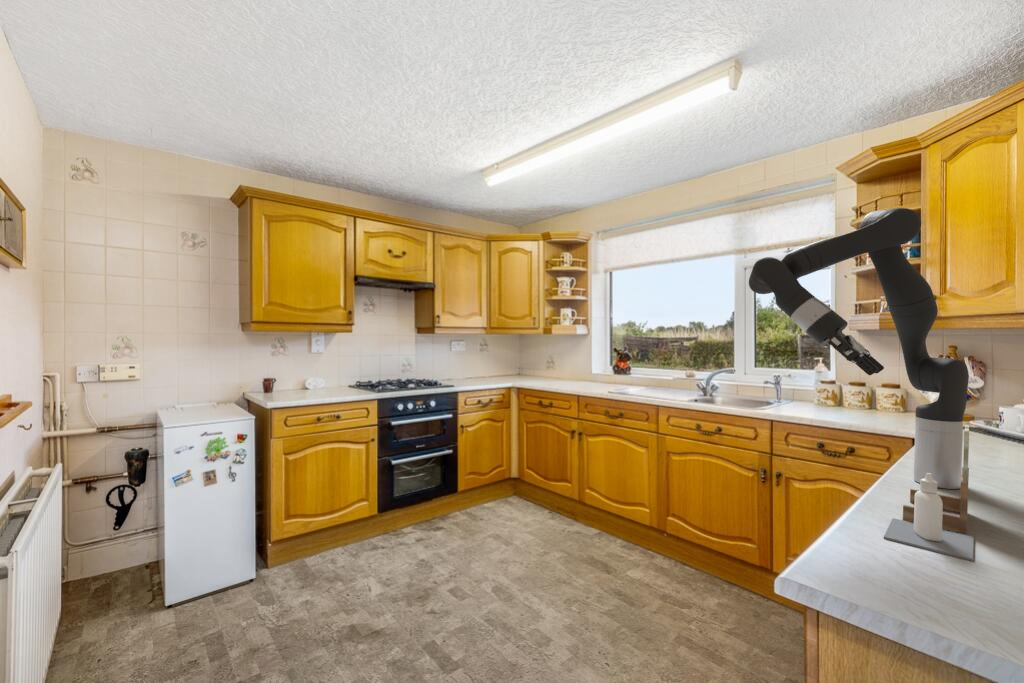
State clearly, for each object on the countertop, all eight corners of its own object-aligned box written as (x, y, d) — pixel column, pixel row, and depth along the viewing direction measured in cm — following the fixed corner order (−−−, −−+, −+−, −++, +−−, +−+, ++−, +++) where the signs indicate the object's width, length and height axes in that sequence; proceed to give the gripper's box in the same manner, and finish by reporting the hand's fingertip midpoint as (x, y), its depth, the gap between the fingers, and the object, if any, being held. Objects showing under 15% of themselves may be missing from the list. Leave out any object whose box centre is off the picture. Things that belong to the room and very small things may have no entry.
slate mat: (892, 519, 97) (892, 518, 97) (973, 538, 88) (973, 536, 88) (883, 538, 88) (883, 536, 88) (973, 561, 79) (973, 558, 79)
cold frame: (910, 501, 108) (912, 416, 108) (967, 513, 101) (970, 422, 101) (902, 520, 97) (905, 425, 96) (966, 534, 90) (969, 432, 90)
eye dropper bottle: (944, 535, 88) (946, 473, 88) (940, 544, 85) (942, 479, 84) (914, 528, 92) (916, 468, 91) (909, 536, 88) (911, 473, 88)
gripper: (824, 307, 103) (889, 361, 95) (838, 310, 113) (897, 359, 105) (796, 331, 107) (856, 385, 99) (812, 332, 117) (867, 381, 109)
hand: (877, 371), depth 102 cm, fingers open, 8 cm apart
